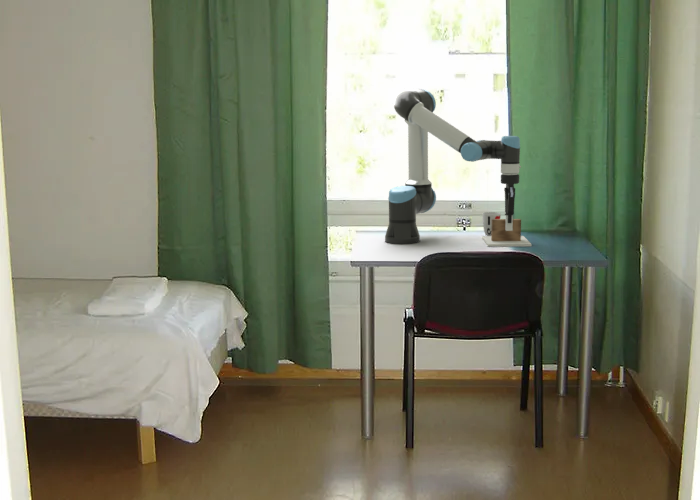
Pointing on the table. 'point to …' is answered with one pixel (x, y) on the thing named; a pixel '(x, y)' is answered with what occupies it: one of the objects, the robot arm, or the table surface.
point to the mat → (505, 242)
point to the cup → (489, 221)
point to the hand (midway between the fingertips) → (508, 230)
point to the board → (501, 234)
